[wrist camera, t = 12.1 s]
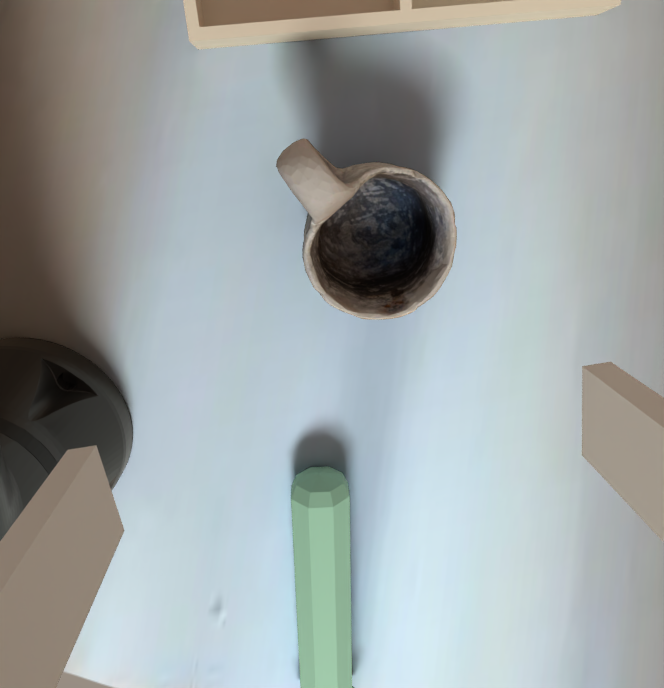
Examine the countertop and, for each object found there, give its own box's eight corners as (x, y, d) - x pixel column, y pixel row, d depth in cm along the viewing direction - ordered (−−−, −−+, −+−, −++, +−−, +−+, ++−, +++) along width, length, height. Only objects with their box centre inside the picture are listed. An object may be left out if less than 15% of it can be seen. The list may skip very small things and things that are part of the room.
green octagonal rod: (298, 502, 41) (310, 749, 49) (370, 482, 44) (369, 721, 51) (271, 464, 46) (286, 694, 54) (336, 448, 49) (341, 670, 57)
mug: (380, 318, 43) (402, 366, 34) (239, 223, 40) (220, 247, 31) (459, 211, 41) (507, 231, 31) (315, 103, 38) (320, 89, 28)
